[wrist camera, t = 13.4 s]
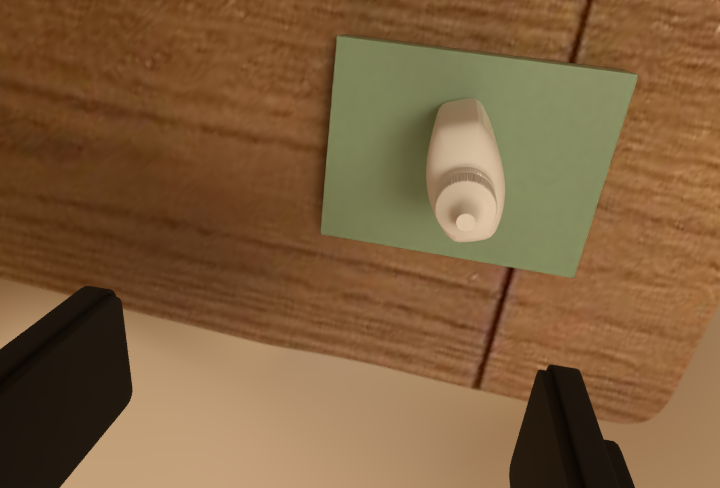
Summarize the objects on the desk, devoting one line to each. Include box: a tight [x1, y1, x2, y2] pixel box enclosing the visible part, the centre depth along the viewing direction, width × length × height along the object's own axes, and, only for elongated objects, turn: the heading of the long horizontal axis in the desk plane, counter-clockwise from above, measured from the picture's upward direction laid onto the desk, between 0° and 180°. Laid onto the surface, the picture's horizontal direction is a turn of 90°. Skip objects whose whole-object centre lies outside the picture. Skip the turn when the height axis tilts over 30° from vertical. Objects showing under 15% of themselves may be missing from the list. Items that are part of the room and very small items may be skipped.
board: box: [320, 34, 638, 278], centre depth 31 cm, size 12×16×2 cm
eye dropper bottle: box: [426, 98, 505, 242], centre depth 24 cm, size 4×6×12 cm
